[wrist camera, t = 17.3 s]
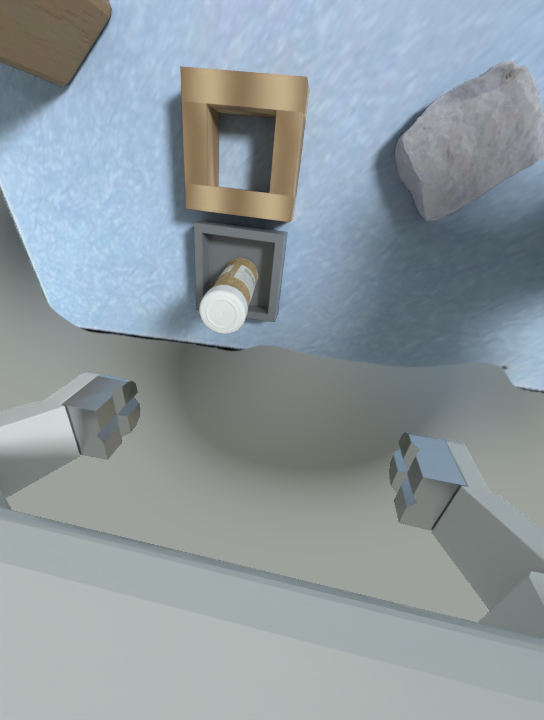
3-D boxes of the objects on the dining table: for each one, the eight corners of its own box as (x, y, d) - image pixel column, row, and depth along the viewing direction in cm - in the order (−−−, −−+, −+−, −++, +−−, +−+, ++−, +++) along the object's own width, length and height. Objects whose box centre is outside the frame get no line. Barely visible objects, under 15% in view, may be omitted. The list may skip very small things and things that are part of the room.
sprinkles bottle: (221, 259, 39) (192, 294, 28) (255, 254, 38) (239, 287, 27) (229, 293, 41) (205, 337, 30) (261, 288, 41) (249, 332, 29)
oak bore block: (309, 90, 30) (306, 76, 27) (293, 219, 36) (289, 221, 33) (196, 80, 31) (180, 66, 28) (199, 207, 37) (185, 208, 34)
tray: (287, 231, 37) (284, 234, 35) (277, 314, 43) (274, 322, 40) (203, 220, 38) (193, 222, 36) (204, 302, 44) (196, 309, 41)
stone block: (382, 151, 33) (423, 230, 35) (386, 134, 29) (434, 226, 30) (497, 63, 29) (540, 158, 30) (523, 27, 24) (572, 140, 26)
